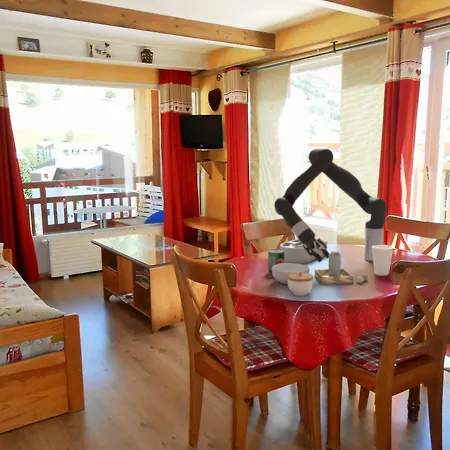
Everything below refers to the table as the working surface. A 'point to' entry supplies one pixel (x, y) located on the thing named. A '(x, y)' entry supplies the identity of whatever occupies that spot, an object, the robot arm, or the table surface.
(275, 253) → the canned tomato
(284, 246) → the ice cube tray
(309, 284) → the lidded jar
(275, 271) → the cereal bowl
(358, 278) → the pebble
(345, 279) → the birch tray
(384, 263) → the foam cup
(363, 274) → the pebble
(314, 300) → the table surface
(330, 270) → the pebble jar
